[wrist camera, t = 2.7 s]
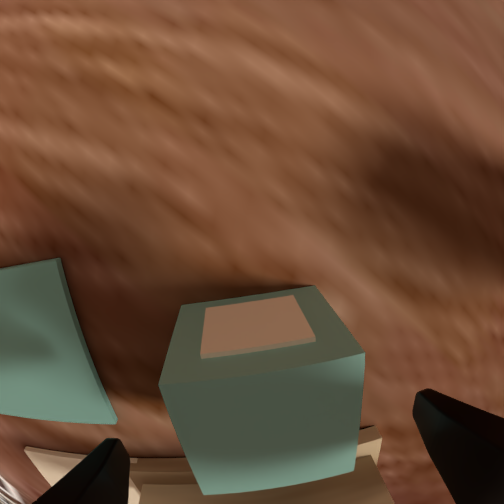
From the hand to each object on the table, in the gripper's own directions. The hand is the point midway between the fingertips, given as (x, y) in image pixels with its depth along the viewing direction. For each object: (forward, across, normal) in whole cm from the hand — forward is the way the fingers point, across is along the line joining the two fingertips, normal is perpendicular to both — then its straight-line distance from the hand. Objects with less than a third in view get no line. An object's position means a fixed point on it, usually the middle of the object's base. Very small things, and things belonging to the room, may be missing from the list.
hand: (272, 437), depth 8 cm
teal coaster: (+5, +11, -1) cm, 12 cm away
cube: (+5, 0, 0) cm, 5 cm away
